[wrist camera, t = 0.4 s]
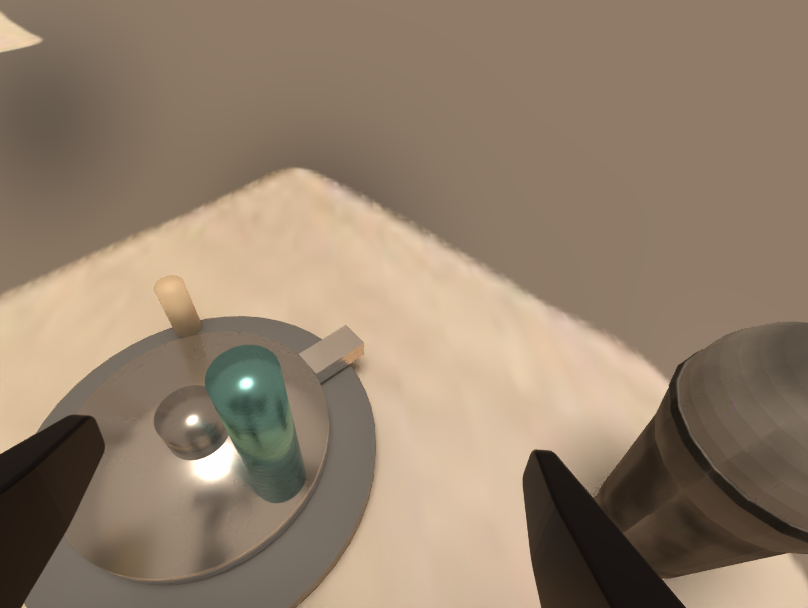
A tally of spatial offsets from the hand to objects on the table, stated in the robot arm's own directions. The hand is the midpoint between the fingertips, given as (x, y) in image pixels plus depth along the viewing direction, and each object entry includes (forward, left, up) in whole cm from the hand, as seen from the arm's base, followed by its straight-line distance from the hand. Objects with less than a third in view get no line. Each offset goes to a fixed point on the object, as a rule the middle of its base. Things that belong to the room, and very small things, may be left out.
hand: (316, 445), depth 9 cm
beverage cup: (+4, -15, -16) cm, 22 cm away
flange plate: (+6, +8, -14) cm, 17 cm away
